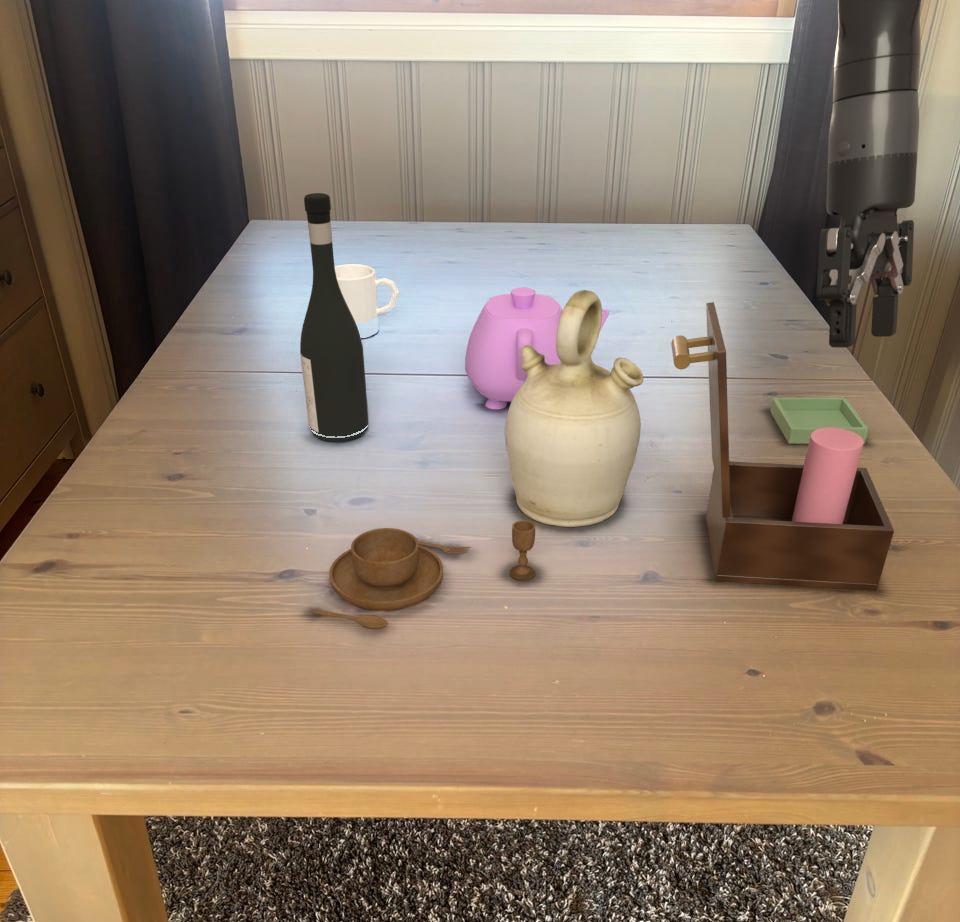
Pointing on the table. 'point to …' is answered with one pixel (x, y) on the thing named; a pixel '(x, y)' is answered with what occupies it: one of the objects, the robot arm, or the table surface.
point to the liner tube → (828, 476)
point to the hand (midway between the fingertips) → (863, 341)
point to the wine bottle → (330, 341)
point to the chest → (795, 532)
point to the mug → (363, 291)
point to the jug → (573, 425)
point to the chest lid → (712, 396)
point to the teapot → (511, 342)
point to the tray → (815, 417)
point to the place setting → (402, 570)
